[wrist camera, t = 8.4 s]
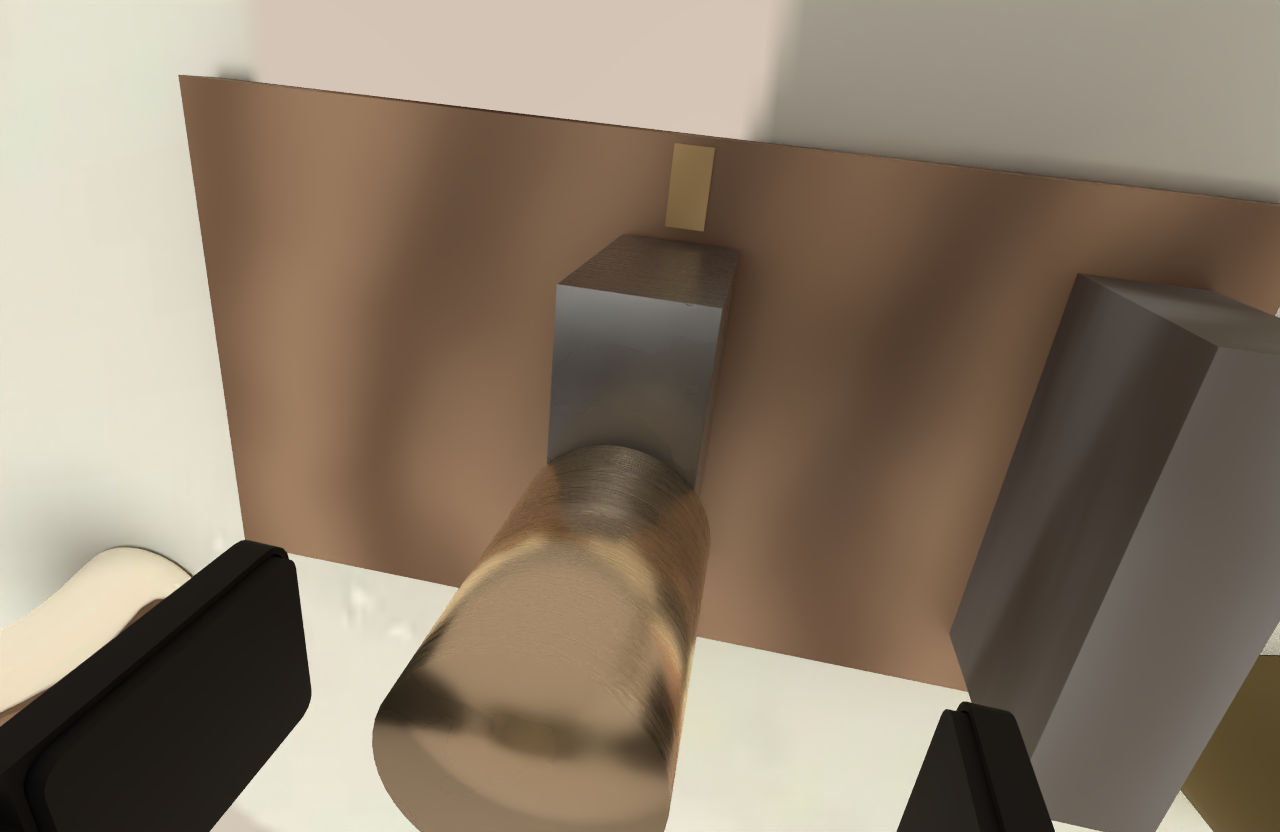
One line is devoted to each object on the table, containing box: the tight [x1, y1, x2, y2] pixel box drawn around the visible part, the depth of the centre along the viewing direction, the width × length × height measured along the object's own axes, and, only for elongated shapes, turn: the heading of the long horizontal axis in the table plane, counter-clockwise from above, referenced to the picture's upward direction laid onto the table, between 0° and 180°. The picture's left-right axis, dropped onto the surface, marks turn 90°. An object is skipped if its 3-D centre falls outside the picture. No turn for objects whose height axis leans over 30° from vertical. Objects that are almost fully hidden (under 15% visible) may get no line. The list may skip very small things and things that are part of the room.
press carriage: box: [372, 234, 739, 832], centre depth 15 cm, size 4×10×12 cm, turn 175°
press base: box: [179, 75, 1280, 832], centre depth 18 cm, size 28×15×8 cm, turn 84°
